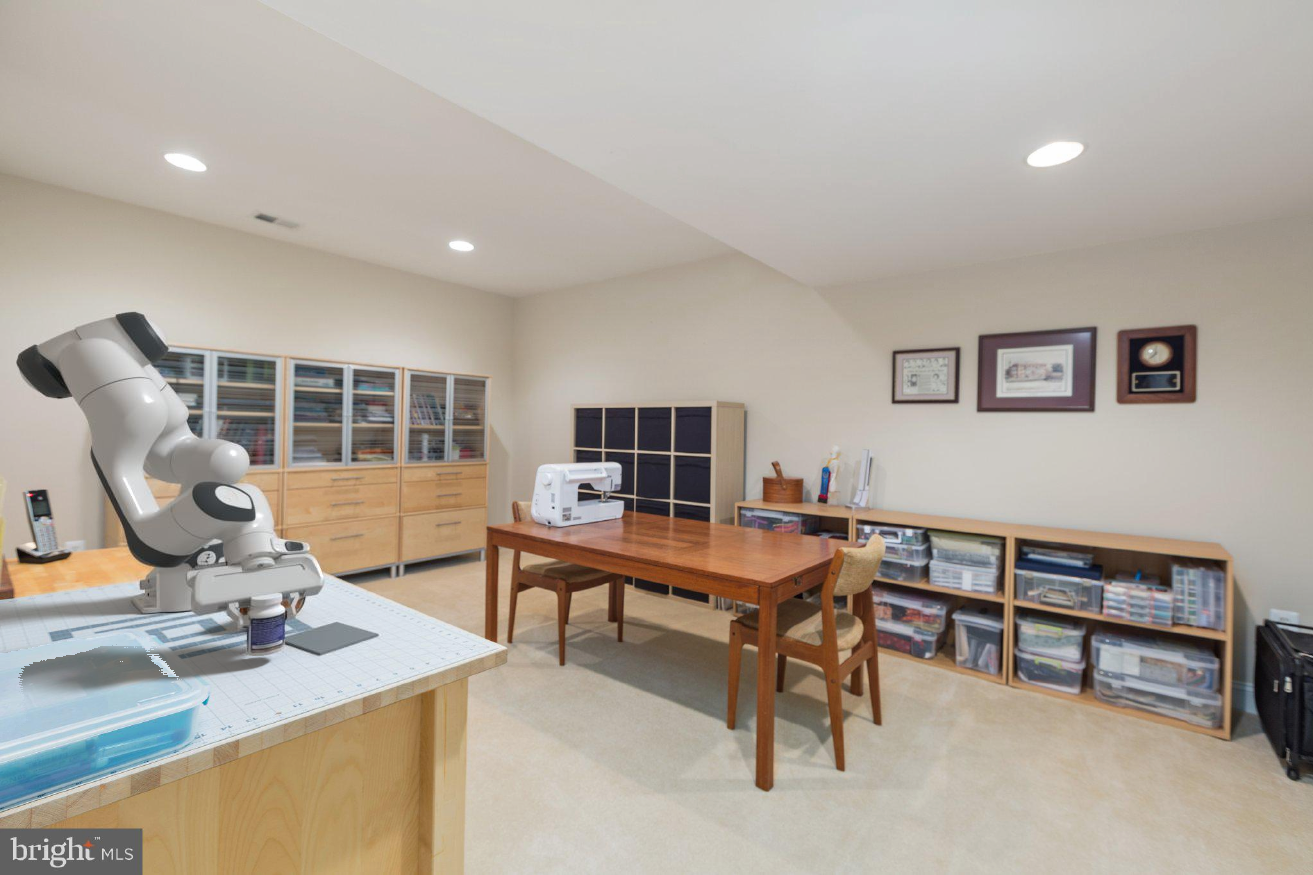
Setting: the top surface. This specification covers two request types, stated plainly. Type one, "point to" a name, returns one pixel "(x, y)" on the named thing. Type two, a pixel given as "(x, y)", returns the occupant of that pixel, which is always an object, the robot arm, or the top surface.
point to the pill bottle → (266, 625)
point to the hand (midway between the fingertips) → (268, 622)
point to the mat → (329, 638)
